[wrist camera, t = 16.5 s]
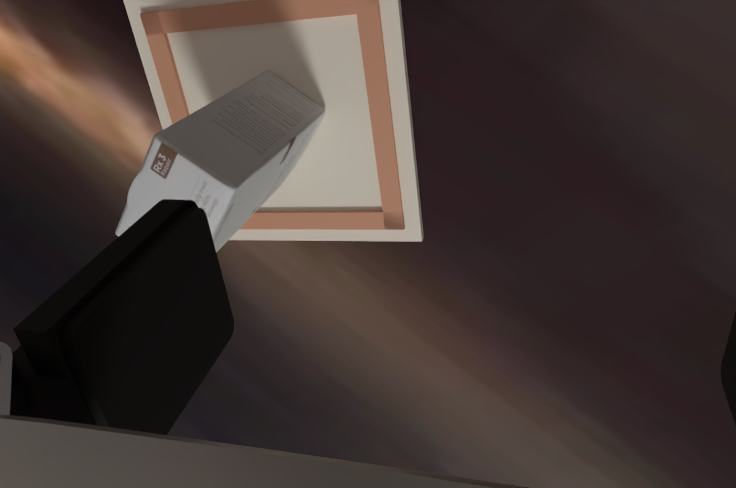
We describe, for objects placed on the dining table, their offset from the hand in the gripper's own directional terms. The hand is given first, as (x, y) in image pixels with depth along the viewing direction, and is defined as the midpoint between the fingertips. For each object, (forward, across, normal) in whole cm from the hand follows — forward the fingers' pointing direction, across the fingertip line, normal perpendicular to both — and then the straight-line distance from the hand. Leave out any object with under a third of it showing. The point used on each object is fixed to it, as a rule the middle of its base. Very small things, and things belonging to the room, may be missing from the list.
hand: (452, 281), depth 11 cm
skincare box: (+24, +14, +6) cm, 28 cm away
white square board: (+24, +14, +6) cm, 28 cm away
